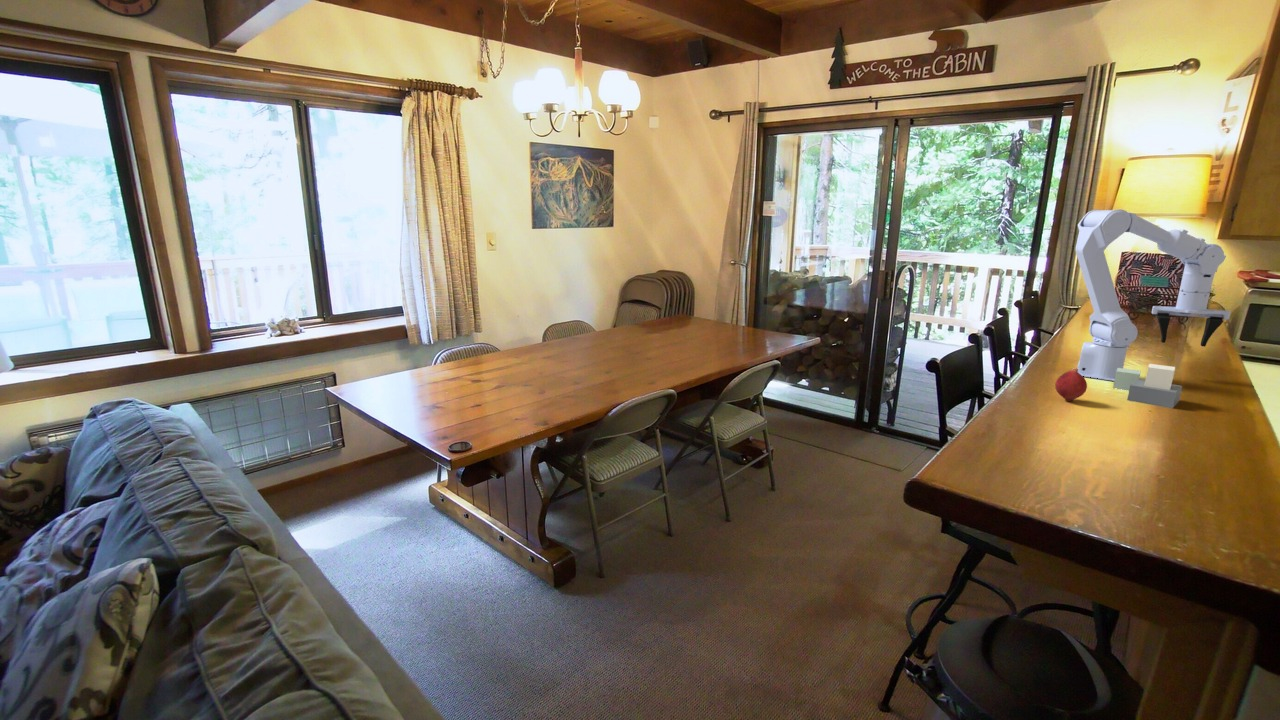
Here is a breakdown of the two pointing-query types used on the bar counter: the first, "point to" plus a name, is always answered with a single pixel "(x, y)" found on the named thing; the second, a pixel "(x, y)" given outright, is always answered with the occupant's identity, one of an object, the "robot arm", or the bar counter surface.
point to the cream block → (1159, 376)
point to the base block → (1154, 394)
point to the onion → (1071, 385)
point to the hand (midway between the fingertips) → (1182, 343)
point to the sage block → (1125, 378)
